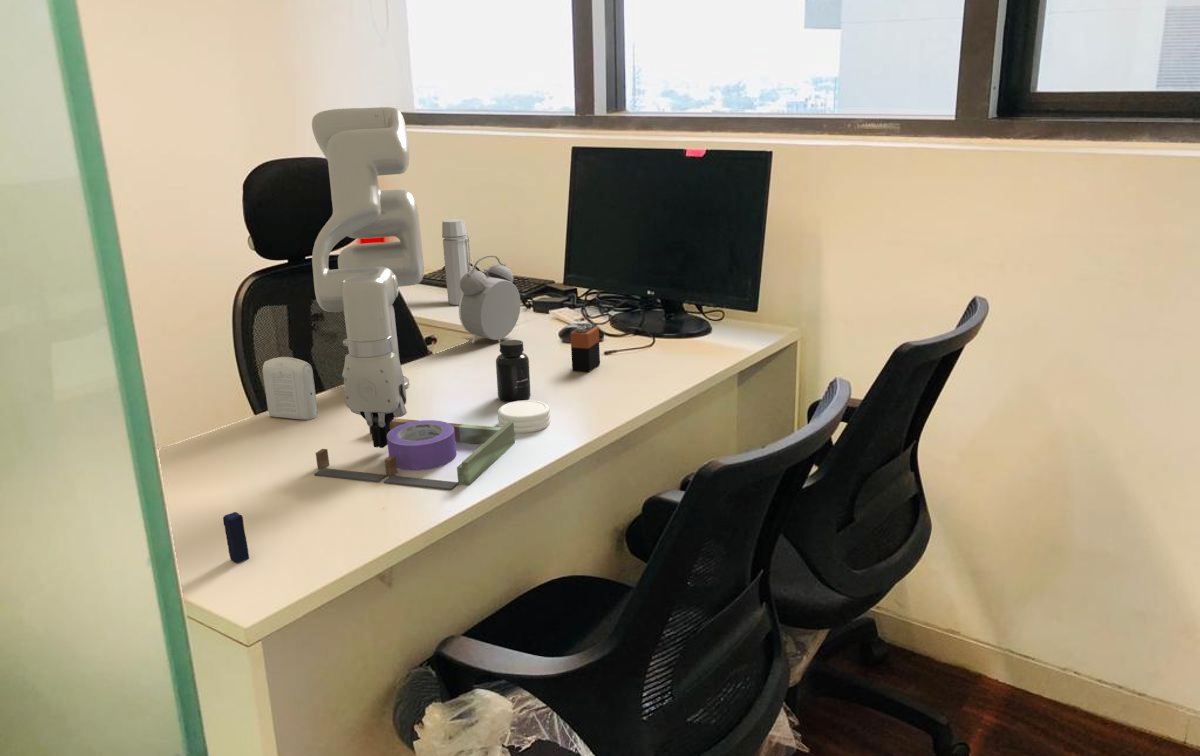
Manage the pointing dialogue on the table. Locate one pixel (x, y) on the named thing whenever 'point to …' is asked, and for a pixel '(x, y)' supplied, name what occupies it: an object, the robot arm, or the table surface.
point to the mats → (392, 479)
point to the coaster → (525, 415)
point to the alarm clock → (489, 302)
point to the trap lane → (478, 461)
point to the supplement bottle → (512, 372)
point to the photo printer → (290, 388)
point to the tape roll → (422, 444)
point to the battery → (585, 348)
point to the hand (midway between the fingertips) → (382, 444)
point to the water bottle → (455, 256)
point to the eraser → (236, 537)
